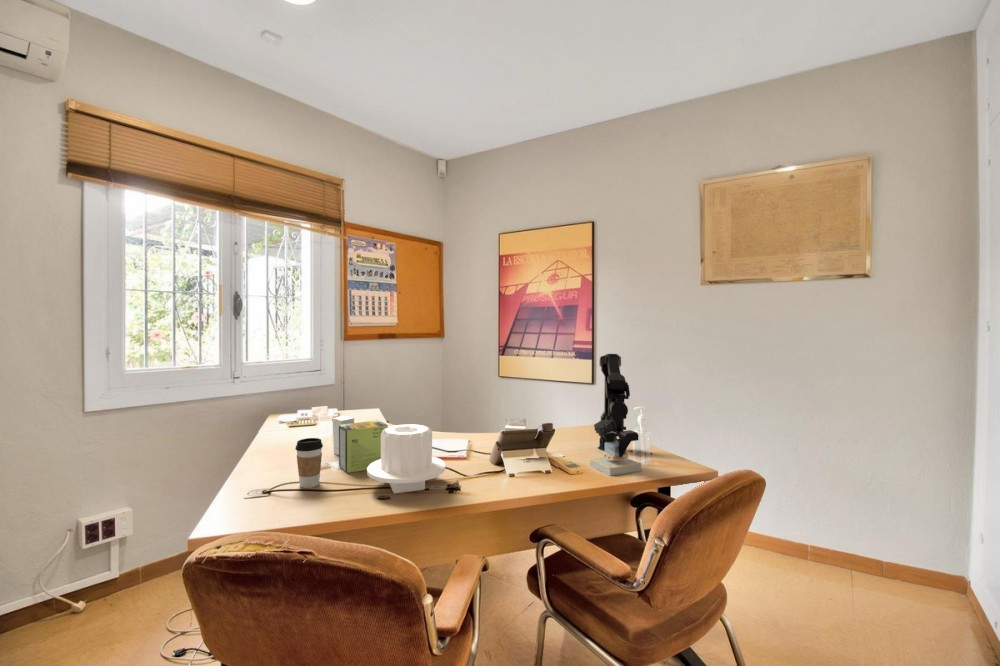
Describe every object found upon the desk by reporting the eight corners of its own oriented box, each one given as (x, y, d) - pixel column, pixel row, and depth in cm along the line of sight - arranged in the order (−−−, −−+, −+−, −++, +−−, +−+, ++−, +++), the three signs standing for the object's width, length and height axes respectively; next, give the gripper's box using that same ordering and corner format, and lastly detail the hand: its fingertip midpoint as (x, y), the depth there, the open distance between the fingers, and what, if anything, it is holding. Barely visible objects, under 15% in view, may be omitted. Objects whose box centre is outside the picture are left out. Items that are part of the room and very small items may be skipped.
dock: (619, 461, 181) (619, 454, 181) (641, 470, 170) (641, 463, 170) (589, 465, 175) (590, 458, 175) (609, 475, 164) (610, 468, 164)
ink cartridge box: (504, 456, 186) (504, 420, 185) (505, 453, 191) (505, 417, 190) (525, 457, 185) (525, 420, 185) (526, 453, 190) (526, 418, 190)
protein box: (388, 466, 173) (388, 424, 173) (346, 473, 165) (346, 430, 164) (378, 458, 182) (378, 419, 181) (338, 465, 173) (338, 424, 173)
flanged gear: (363, 478, 160) (363, 423, 159) (434, 470, 169) (435, 418, 168) (372, 506, 137) (371, 442, 136) (454, 494, 146) (454, 435, 145)
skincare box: (355, 455, 187) (355, 418, 186) (341, 458, 182) (341, 420, 182) (346, 450, 193) (346, 414, 192) (332, 453, 188) (332, 416, 188)
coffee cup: (296, 491, 148) (296, 444, 147) (294, 482, 155) (294, 438, 155) (324, 486, 152) (324, 441, 151) (321, 478, 159) (321, 435, 159)
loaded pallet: (617, 453, 177) (617, 440, 177) (628, 458, 171) (628, 444, 171) (602, 455, 174) (602, 442, 174) (612, 460, 169) (612, 446, 168)
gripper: (583, 409, 177) (582, 450, 178) (614, 419, 160) (613, 464, 161) (607, 407, 182) (606, 446, 182) (639, 417, 165) (639, 460, 165)
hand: (615, 454), depth 173 cm, fingers closed on loaded pallet, 6 cm apart
